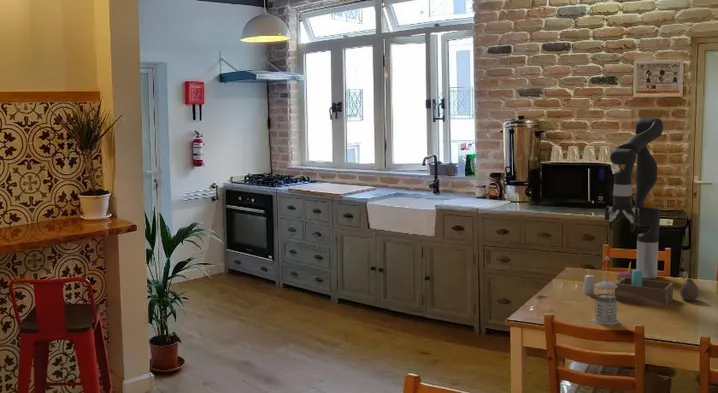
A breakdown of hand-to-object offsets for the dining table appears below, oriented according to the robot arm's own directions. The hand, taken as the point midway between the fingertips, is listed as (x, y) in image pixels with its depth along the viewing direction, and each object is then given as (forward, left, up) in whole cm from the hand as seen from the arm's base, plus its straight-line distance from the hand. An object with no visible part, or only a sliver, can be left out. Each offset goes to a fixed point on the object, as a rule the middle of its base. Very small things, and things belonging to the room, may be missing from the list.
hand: (621, 230), depth 315 cm
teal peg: (+12, +10, -27) cm, 31 cm away
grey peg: (+15, -9, -27) cm, 32 cm away
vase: (+3, +29, -27) cm, 40 cm away
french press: (+51, +9, -27) cm, 58 cm away
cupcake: (-5, +1, -27) cm, 27 cm away
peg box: (+12, +13, -27) cm, 32 cm away
